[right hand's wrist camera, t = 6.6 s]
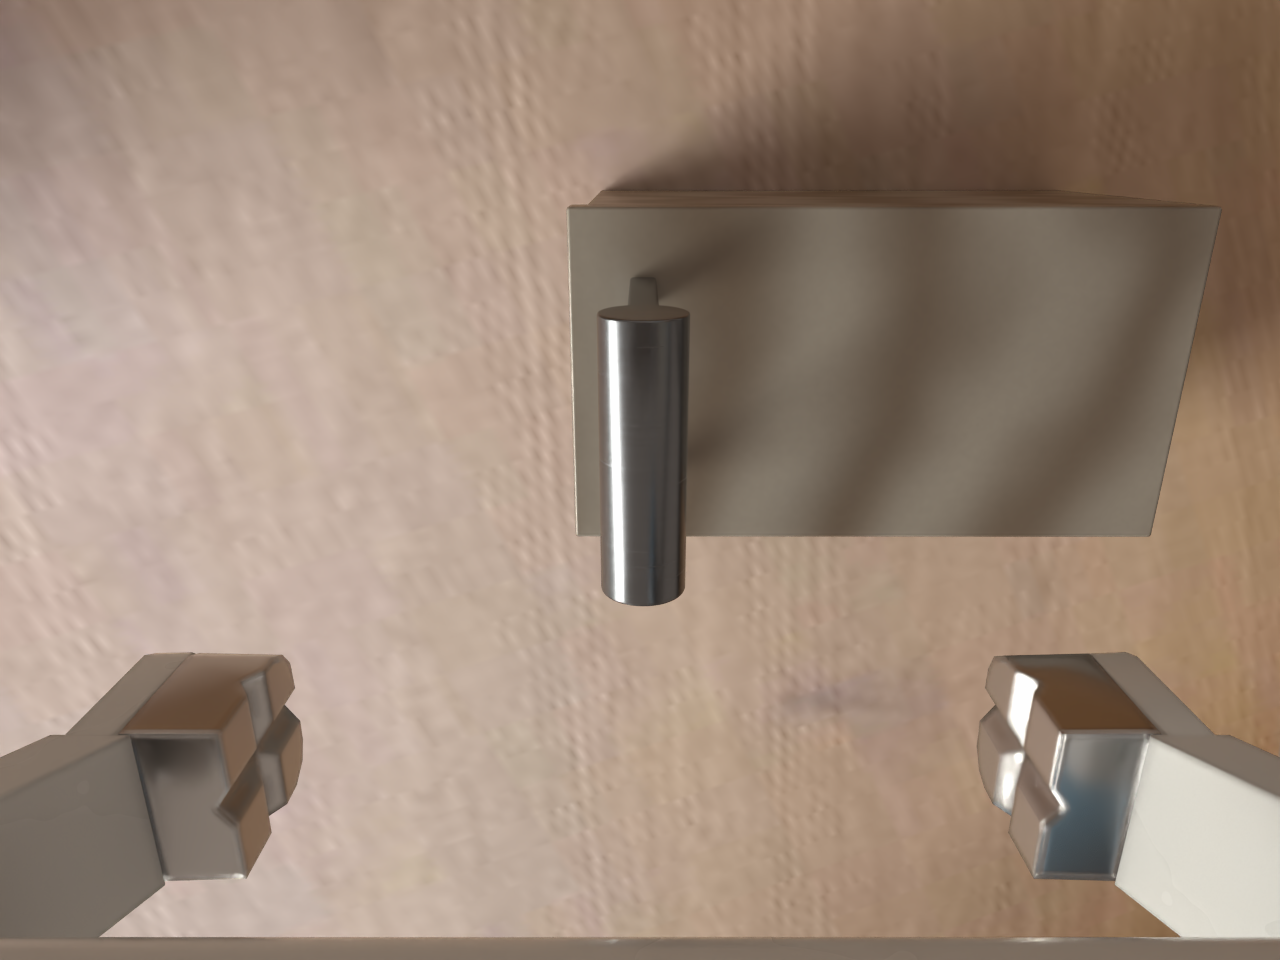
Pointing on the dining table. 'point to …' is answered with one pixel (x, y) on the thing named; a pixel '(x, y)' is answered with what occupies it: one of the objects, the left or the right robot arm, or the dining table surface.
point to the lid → (873, 372)
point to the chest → (867, 198)
